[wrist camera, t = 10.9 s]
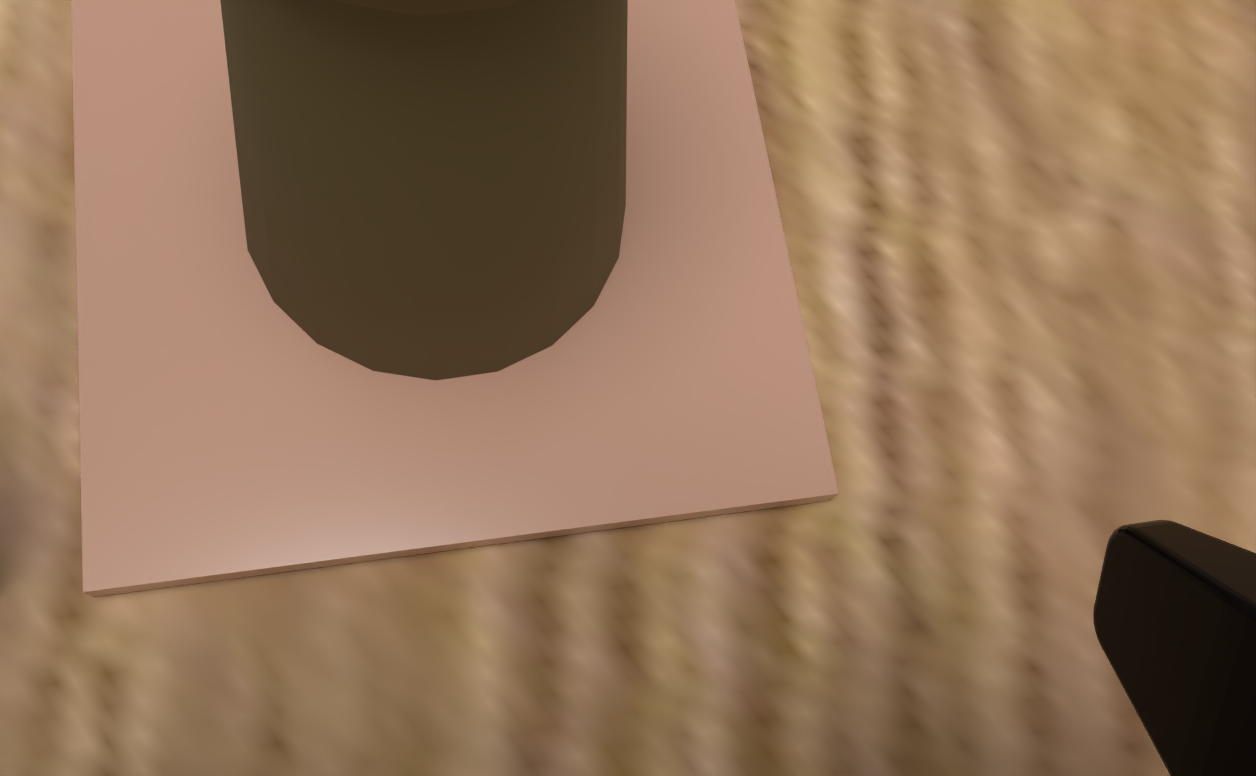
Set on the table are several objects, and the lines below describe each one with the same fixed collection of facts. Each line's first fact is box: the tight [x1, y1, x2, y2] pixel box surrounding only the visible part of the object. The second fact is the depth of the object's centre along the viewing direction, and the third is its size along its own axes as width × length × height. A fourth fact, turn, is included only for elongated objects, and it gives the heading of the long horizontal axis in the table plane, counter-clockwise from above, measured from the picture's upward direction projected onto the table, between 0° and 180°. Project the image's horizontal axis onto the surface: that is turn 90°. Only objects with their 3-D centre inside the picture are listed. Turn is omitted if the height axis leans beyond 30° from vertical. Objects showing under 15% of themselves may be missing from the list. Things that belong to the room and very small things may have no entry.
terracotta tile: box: [71, 0, 839, 597], centre depth 19 cm, size 11×11×1 cm
